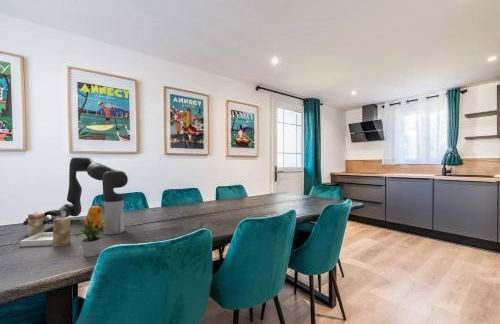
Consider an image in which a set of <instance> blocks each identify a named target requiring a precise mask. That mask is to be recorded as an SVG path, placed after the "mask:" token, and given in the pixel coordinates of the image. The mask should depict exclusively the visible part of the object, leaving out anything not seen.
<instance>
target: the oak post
mask: <svg viewBox="0 0 500 324" xmlns="http://www.w3.org/2000/svg"><path fill="white" fill-rule="evenodd" d="M70 222H71V216H68V217H59V218H57V219H54V220H53V224H52V227H53V228H52V232H53V245H52V247H65V246H66V245H68V244H70V243H71V223H70Z"/></svg>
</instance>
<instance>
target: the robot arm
mask: <svg viewBox="0 0 500 324" xmlns="http://www.w3.org/2000/svg"><path fill="white" fill-rule="evenodd" d="M68 167H69V169H68V171H69V173H68V190H67V196H66V201H67V203H65V204H63V205H62V206H61V207H59V208H53V209H52V210H48V211H46V212H43V213H44V214H45V217H44V220H43V222H42V224H43V225H44V226H45V225H53V220H54V219H57V218H59V217H78V216H79V215H81V212H82V203H81V196H82V193H83V192H82V191H83V189H82V186H81V183H80V182H79V180H78V178H77V173H78V172H79V173H80V172H84V173H85V172H86V173H87V175H88V176H89V177H90V178H92V179H94V180H97V181H102V196H103V220H104V221H105V220H106V219H107V220H106V221H105V222H104V227H103V228H107V229H103V228H102V229H103V230H102V233H103V235H106V236H107V235H109V236H111V235H118V234H122V233H123V232H125V227H126V226H125V223H126V222H125V218H126V217H125V215H126V214H125V213H124V195H123V194H121V193H117V192H115V190H114V189H119V188H123V187H125V186H126V185H127V184H128V182H129V178H128V175H127V173H126V172H124V171H122V170H118V169H113V168H111V167H108V166H106V165H104V164H102V163H99V162H98V161H97V162H96V161H94V160H93V159H92V158H90V157H84V156H83V157H82V156H73V157H71V159H70V161H69V166H68ZM68 202H69V203H68ZM108 218H109V219H108ZM23 226H28V217H27V218H25V220H24V221H23ZM105 230H106V231H105ZM103 231H104V232H103Z"/></svg>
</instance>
